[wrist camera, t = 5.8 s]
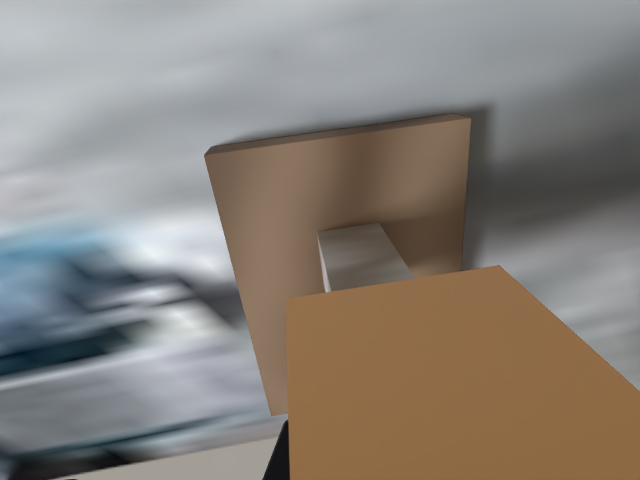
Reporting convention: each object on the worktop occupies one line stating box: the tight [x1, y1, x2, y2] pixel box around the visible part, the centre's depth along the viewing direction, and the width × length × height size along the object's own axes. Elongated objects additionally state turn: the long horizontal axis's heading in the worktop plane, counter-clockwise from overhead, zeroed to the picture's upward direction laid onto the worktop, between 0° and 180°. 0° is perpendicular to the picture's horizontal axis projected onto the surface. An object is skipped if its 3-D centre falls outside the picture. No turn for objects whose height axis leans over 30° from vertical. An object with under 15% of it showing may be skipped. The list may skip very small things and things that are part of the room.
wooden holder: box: [204, 114, 471, 416], centre depth 14 cm, size 10×14×8 cm
